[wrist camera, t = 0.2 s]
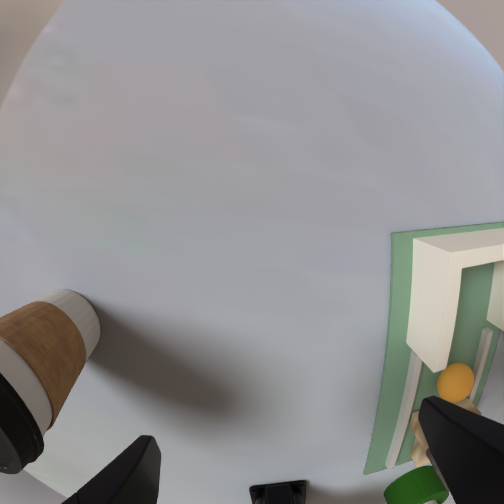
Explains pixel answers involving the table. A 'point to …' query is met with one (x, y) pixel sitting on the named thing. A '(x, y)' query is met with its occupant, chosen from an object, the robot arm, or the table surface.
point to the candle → (417, 488)
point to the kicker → (420, 446)
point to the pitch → (436, 324)
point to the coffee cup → (40, 370)
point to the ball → (455, 382)
